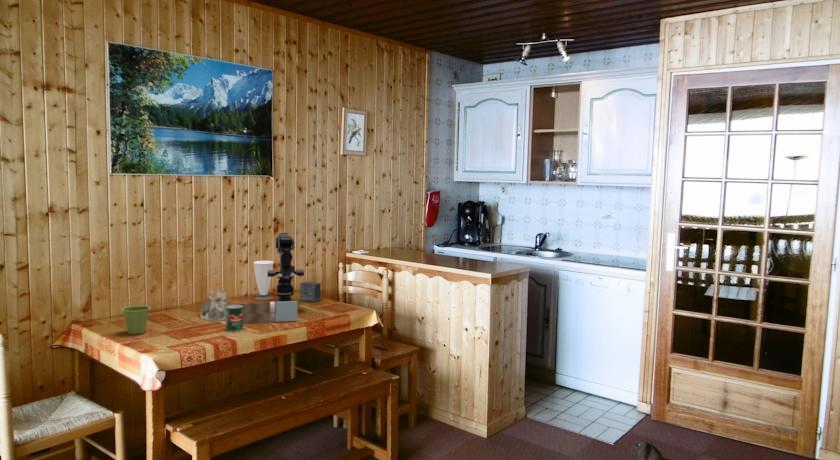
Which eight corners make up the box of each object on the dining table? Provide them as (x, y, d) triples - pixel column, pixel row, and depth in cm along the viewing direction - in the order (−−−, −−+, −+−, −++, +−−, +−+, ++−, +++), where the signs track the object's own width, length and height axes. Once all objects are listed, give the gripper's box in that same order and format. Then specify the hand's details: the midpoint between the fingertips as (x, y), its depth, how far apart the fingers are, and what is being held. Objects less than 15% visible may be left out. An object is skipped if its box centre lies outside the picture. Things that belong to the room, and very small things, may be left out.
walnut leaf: (274, 321, 297) (274, 301, 296) (275, 322, 294) (275, 302, 293) (239, 323, 292) (239, 302, 291) (239, 324, 290) (239, 303, 289)
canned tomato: (233, 332, 275) (233, 308, 274) (221, 329, 279) (221, 306, 278) (246, 328, 281) (246, 305, 280) (235, 326, 286) (235, 303, 285)
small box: (321, 300, 349) (321, 282, 348) (314, 302, 343) (314, 284, 342) (306, 298, 353) (306, 281, 353) (299, 300, 348) (299, 282, 347)
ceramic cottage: (206, 312, 312) (206, 285, 310) (236, 315, 310) (236, 287, 307) (190, 321, 297) (190, 292, 294) (221, 324, 294) (221, 295, 292)
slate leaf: (270, 322, 294) (269, 302, 293) (270, 321, 296) (269, 301, 295) (297, 321, 297) (297, 301, 296) (297, 319, 299) (297, 300, 298)
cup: (250, 299, 348) (249, 262, 346) (259, 295, 359) (258, 260, 357) (268, 300, 346) (268, 263, 344) (277, 296, 357) (276, 261, 355)
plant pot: (149, 335, 267) (148, 310, 266) (119, 336, 264) (119, 311, 263) (152, 328, 279) (152, 305, 278) (124, 330, 275) (124, 306, 274)
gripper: (268, 262, 307) (268, 292, 308) (304, 261, 312) (304, 291, 313) (267, 259, 318) (267, 288, 319) (303, 258, 323) (303, 287, 324)
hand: (285, 289), depth 319 cm, fingers closed
